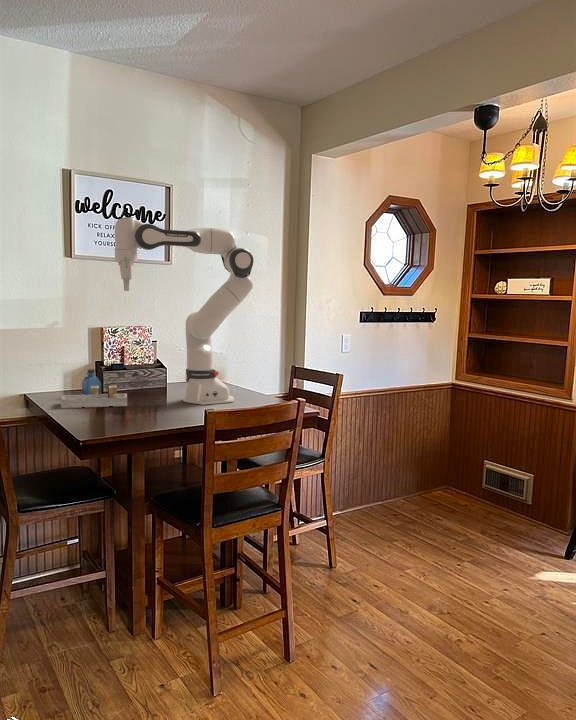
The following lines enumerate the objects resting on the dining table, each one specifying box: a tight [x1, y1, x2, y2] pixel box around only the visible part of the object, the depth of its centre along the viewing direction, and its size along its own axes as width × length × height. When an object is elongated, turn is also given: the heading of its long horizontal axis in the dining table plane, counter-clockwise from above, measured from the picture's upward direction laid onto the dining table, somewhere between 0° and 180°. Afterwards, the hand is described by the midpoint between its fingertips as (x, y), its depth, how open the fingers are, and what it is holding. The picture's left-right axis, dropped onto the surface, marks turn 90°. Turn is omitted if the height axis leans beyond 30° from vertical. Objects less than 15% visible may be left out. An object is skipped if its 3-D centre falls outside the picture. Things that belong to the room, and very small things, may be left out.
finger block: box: [91, 386, 100, 394], centre depth 250 cm, size 4×5×6 cm
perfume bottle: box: [81, 368, 102, 395], centre depth 258 cm, size 6×6×12 cm
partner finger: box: [107, 384, 118, 398], centre depth 243 cm, size 4×5×6 cm
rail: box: [60, 393, 128, 409], centre depth 241 cm, size 26×10×4 cm, turn 107°
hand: (126, 290), depth 240 cm, fingers open, 8 cm apart
